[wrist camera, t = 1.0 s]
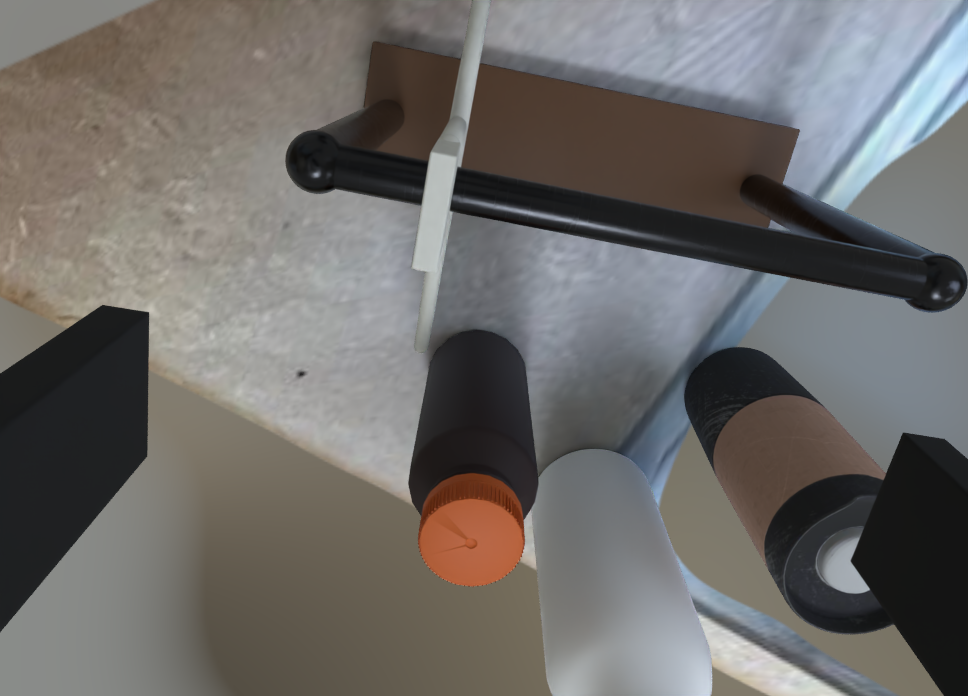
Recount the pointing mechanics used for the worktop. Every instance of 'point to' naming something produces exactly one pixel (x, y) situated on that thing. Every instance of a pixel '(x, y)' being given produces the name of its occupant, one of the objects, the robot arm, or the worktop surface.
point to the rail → (611, 175)
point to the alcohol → (612, 585)
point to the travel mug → (790, 483)
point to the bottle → (474, 460)
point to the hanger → (446, 176)
